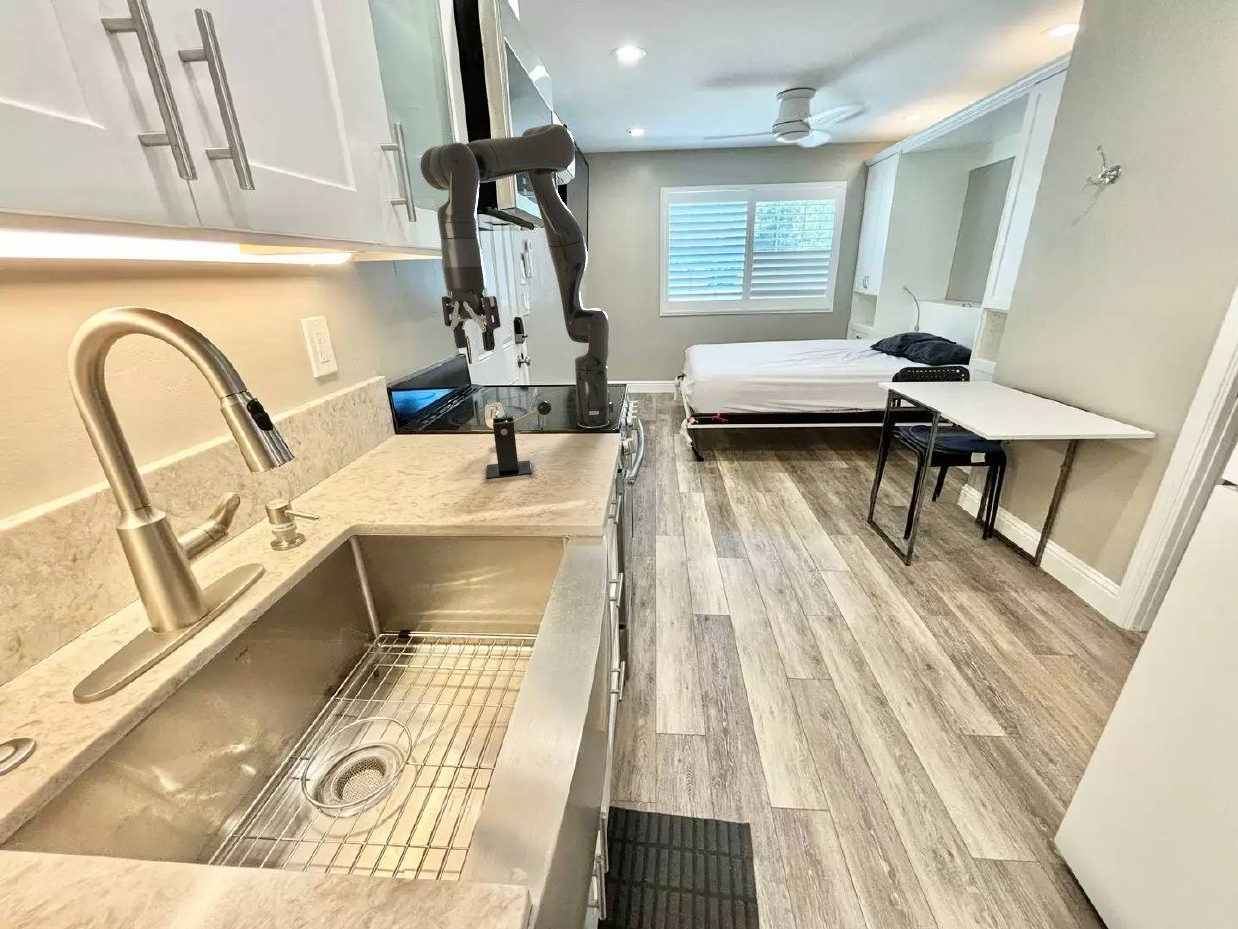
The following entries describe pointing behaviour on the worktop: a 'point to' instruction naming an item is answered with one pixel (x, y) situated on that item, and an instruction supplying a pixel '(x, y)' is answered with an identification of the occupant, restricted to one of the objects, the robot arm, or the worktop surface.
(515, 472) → the black lever stand
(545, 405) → the tap lever
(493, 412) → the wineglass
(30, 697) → the worktop surface
